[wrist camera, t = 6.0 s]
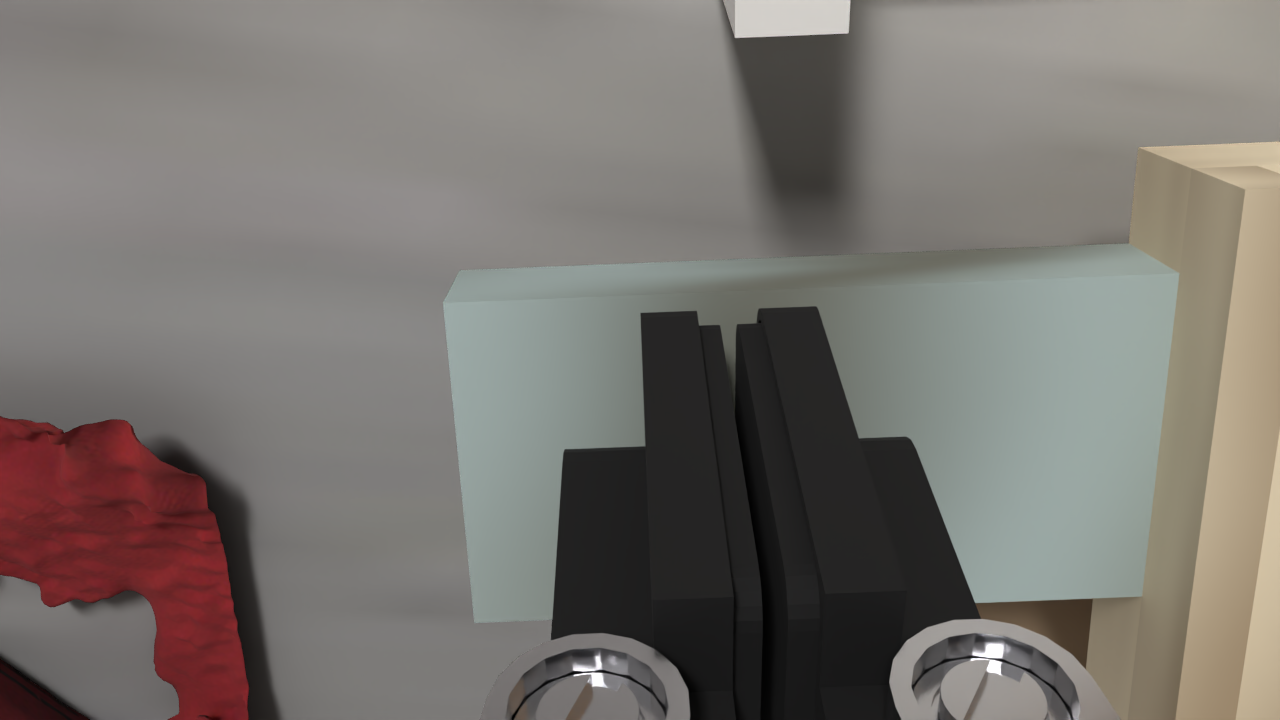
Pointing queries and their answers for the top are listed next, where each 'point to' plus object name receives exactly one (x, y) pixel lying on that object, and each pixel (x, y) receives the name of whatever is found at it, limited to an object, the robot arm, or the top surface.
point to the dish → (787, 17)
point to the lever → (965, 415)
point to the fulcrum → (1048, 620)
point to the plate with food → (119, 557)
